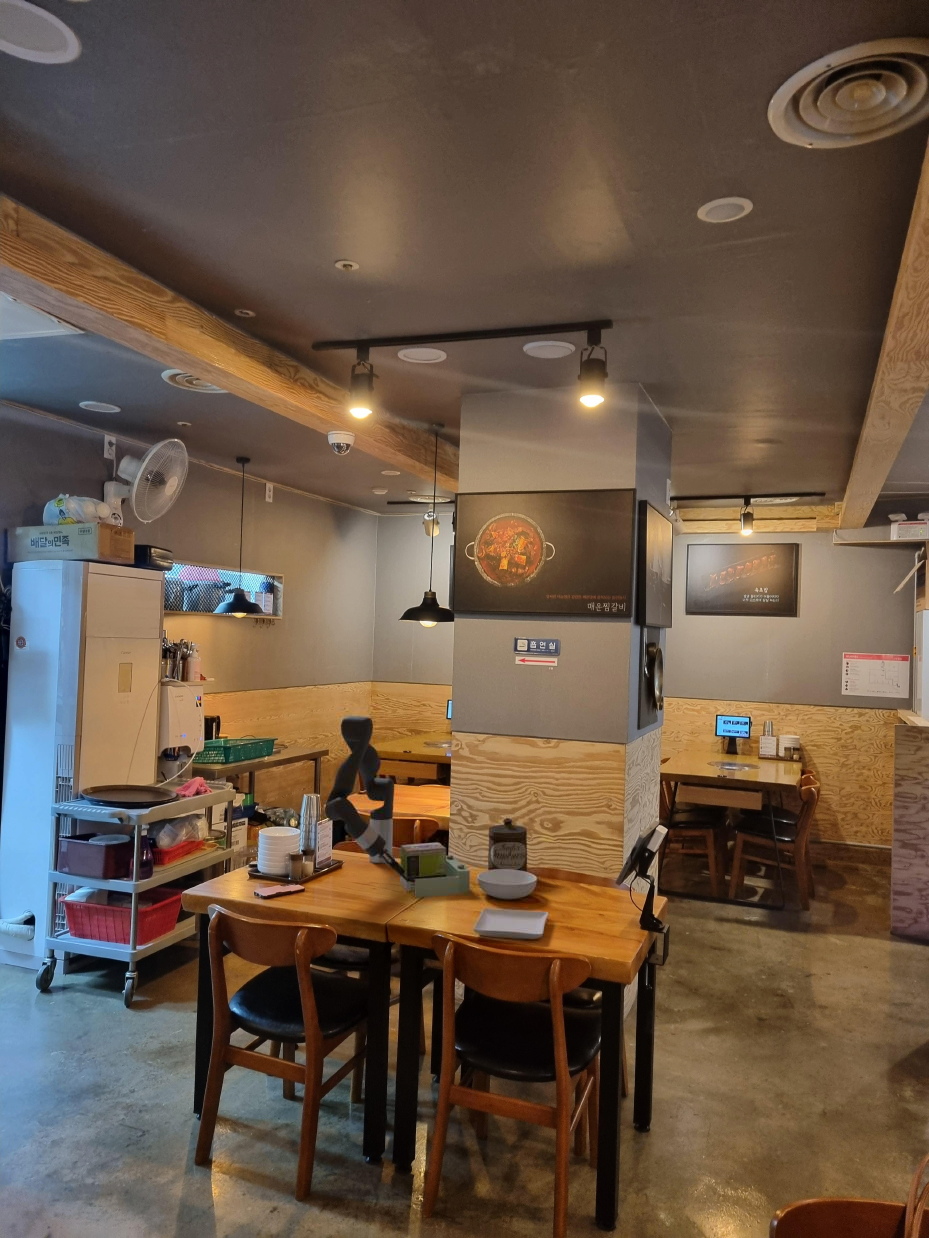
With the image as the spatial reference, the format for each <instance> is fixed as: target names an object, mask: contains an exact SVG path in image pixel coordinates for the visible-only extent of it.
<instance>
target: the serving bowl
mask: <svg viewBox="0 0 929 1238" xmlns="http://www.w3.org/2000/svg"><path fill="white" fill-rule="evenodd" d="M537 881H538V877H537V876H536V875H535V874H533V873H530V872H528V871H527V872H525V871H519V870H511V869H496V870H488V869H487V870H484V871H482V872H479V873H478V874H477V882H478V885H479V888H480V889H481V891H482V892H483V893H485V894H487V895H488V896H490V897H492V898H493V897H494V898H495V899H496V898H497V899H501V900H516V899H521V898H524V897H527V896H529V895H530V894H531V893H532V892H533V891H534V890H535V889H536V885H537Z"/></svg>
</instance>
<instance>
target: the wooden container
mask: <svg viewBox="0 0 929 1238" xmlns="http://www.w3.org/2000/svg"><path fill="white" fill-rule="evenodd" d="M502 822H503V824H497V825H493V826H490V827H488V857H487V871H488V870H496V869H511V870H519V871H525V872H528V842H527V841H528V840H527V839H528V837H527V836H528V834H527V827H524V826H522V825H517V824H512V823H513V820H512V819H511V818H509V817H505V818H504V819H503V820H502Z"/></svg>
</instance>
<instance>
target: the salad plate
mask: <svg viewBox="0 0 929 1238" xmlns="http://www.w3.org/2000/svg"><path fill="white" fill-rule="evenodd" d="M548 916H549V912H548V911H537V910H536V911H535V910H521V909H502V908H483V909H482V911H481V912H480V915H479V917H478V919H477V921H476V923H475V924H474V926H473V929H472V930H473V932H475V933H476V934H478V935H480V936H484V937H491V938H503V939H513V940H514V939H516V940H536V939H539V938H541V937H542V936H543V935H544V932H545V931H544V930H545V925H546V921H547V918H548Z"/></svg>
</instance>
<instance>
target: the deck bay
mask: <svg viewBox="0 0 929 1238" xmlns="http://www.w3.org/2000/svg"><path fill="white" fill-rule="evenodd" d="M470 871H471V870H470V869H468V868H467V867H466V866H465V865H464V864H462V863H461V862H460V861H459V860H458V859H456V858H455V857H454V855H453V854H451V855H450V854H448V855H446V877H437V878H423V879H415V891H414V897H415V898H428V897H429V898H430V897H439V896H441V897H443V896H452V895H453V896H454V895H465V894H470V878H471V876H470V873H471V872H470Z"/></svg>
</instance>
